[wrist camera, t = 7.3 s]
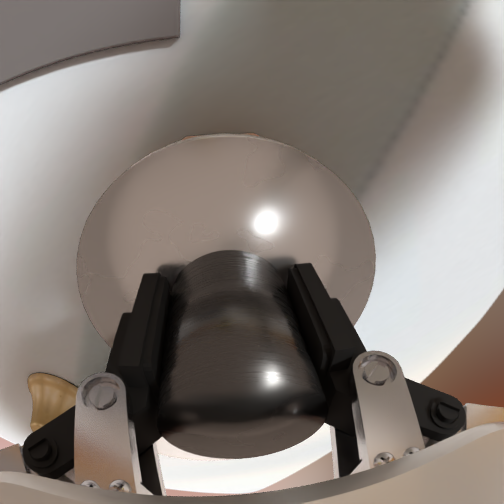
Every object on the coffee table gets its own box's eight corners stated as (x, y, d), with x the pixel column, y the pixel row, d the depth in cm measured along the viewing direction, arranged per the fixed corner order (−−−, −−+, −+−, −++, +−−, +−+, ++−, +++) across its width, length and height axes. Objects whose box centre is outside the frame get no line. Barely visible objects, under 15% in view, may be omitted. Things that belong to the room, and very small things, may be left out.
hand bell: (39, 405, 25) (13, 516, 12) (19, 363, 22) (-25, 496, 8) (100, 422, 27) (86, 543, 13) (89, 384, 23) (63, 536, 10)
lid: (386, 139, 9) (520, 199, 4) (340, 363, 14) (379, 458, 9) (56, 153, 8) (-68, 230, 3) (125, 379, 13) (110, 483, 8)
